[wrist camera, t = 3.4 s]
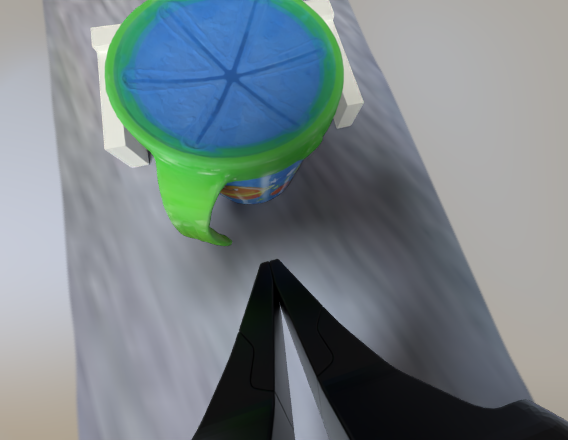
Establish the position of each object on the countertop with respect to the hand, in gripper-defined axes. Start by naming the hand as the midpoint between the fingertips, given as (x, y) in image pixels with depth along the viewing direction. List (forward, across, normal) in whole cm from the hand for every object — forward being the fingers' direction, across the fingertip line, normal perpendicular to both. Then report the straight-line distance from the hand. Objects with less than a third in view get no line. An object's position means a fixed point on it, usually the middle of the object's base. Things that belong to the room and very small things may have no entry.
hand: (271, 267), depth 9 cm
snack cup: (+12, 0, -1) cm, 12 cm away
